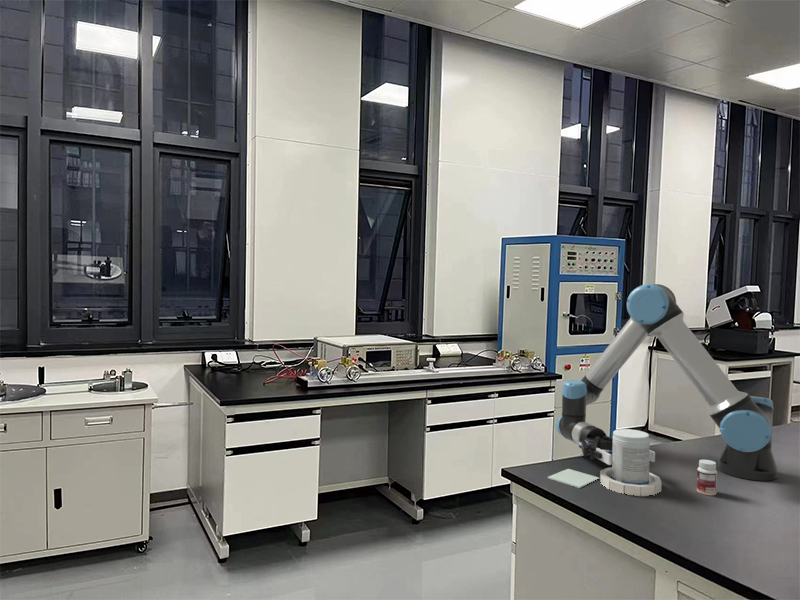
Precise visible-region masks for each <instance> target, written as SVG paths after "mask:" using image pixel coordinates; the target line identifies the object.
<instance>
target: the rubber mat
mask: <svg viewBox="0 0 800 600" xmlns="http://www.w3.org/2000/svg"><path fill="white" fill-rule="evenodd" d="M548 479H549V480H551V481H555V482H558V483H562V484H565V485H566V486H567V485H568V486H571V487H573V486H574V487H573V488H577V489H581V488H584V487H585V486H588V485H589V483H590V484H592V483H594V482H596V481H598V480H597V479H599V480H600V476H599V477H598V476H595V475H592V474H588V473H584V472H581V471H577V470H574V469H570V468H567V469H564V470H561V471H559V472H556V473H554V474H552V475H548V476H547V480H548ZM595 480H596V481H595ZM593 481H594V482H593ZM591 482H592V483H591ZM587 484H588V485H587Z"/></svg>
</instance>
